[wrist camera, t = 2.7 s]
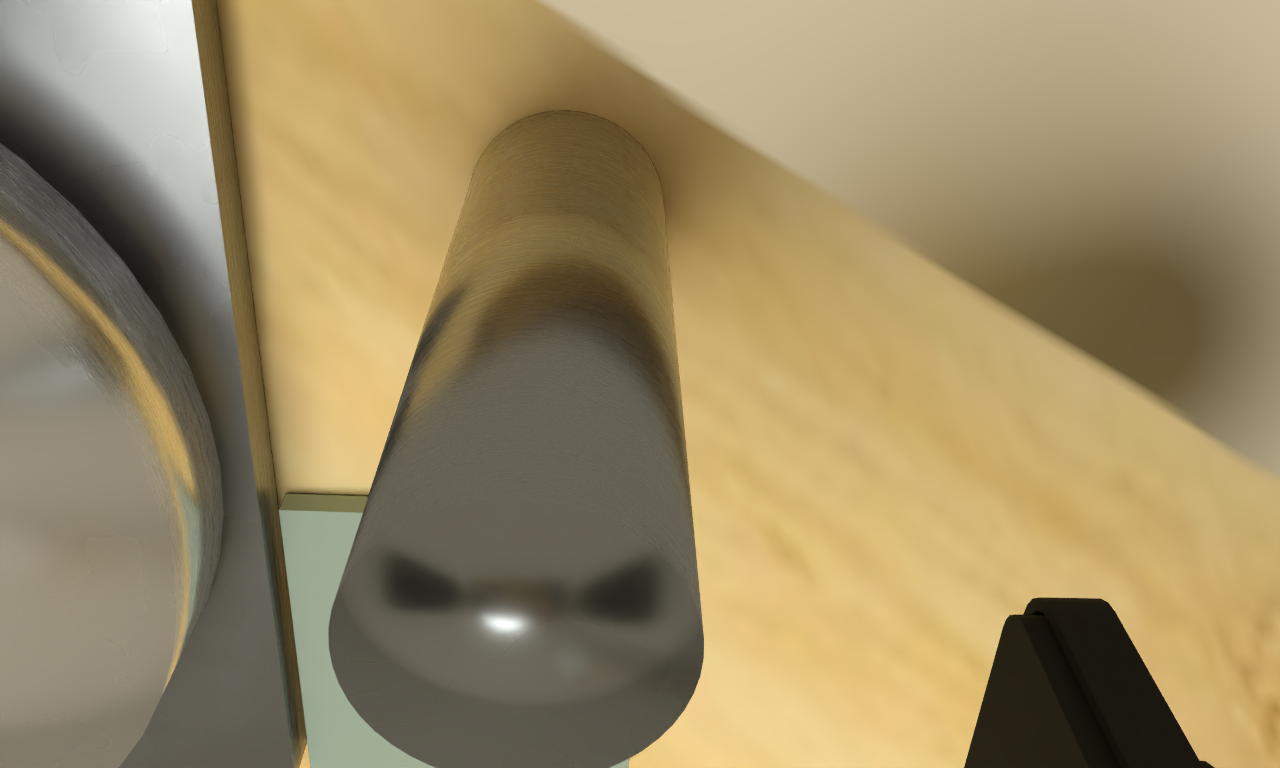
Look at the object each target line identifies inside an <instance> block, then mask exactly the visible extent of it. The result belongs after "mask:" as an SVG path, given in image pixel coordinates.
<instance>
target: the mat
mask: <svg viewBox="0 0 1280 768" xmlns="http://www.w3.org/2000/svg"><path fill="white" fill-rule="evenodd" d="M367 499H368V496H345V495H315V494H286V495H285V497H284V500H283V502H282V504H281V507H280V509H279V515H280V523H281V531H282V539H283V547H284V555H285V564H286V572H287V580H288V588H289V596H290V604H291V612H292V621H293V629H294V637H295V645H296V653H297V661H298V669H299V678H300V686H301V694H302V702H303V710H304V718H305V726H306V735H307V743H308V751H309V759H310V767H311V768H435V767H433V766H430V765H428V764H426V763H424V762H422V761H419V760H417V759H415V758H413V757H411V756H409V755H408V754H406V753H404V752H403V751H401V750H400V749H398V748H396V747H395V746H393V745H392V744H390V743H389V742H388V741H386V740H385V739H384V738H383V737H381V736H380V735H379V734H378V733H376V732H375V731H374V730H373V729H372V728H371V727H370V726H369V725H368V724H367V723H366V722H365V721H364V720H363V719H362V718H361V717H360V716H359V714H358V713H357V712H356V710H355V709H354V708H353V706H352V705H351V704H350V702H349V701H348V699H347V698H346V696H345V694H344V692H343V690H342V689H341V687H340V685H339V683H338V680H337V677H336V675H335V672H334V669H333V667H332V662H331V657H330V652H329V637H328V628H329V621H330V615H331V609H332V606H333V603H334V600H335V597H336V594H337V591H338V588H339V585H340V582H341V579H342V575H343V572H344V569H345V566H346V563H347V560H348V557H349V554H350V551H351V548H352V545H353V542H354V539H355V536H356V533H357V529H358V526H359V523H360V520H361V517H362V514H363V511H364V508H365V505H366V502H367ZM610 768H629V759H627V760H625V761H623V762H621V763H619V764H616V765H614V766H612V767H610Z"/></svg>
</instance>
